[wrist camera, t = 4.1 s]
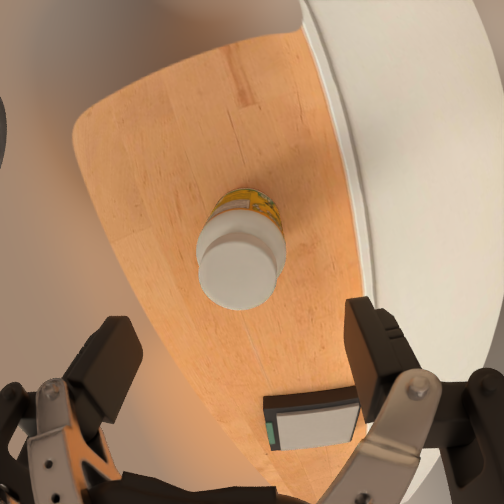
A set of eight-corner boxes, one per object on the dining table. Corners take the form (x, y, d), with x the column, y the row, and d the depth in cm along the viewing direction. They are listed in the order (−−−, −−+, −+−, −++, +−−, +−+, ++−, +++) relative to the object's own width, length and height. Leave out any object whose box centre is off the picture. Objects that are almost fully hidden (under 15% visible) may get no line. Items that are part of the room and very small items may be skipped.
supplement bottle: (204, 197, 22) (168, 242, 14) (270, 179, 22) (276, 213, 13) (225, 257, 25) (205, 328, 16) (287, 241, 24) (300, 309, 15)
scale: (271, 440, 37) (271, 454, 34) (263, 396, 32) (263, 413, 30) (349, 431, 36) (351, 444, 33) (360, 384, 31) (364, 400, 29)
